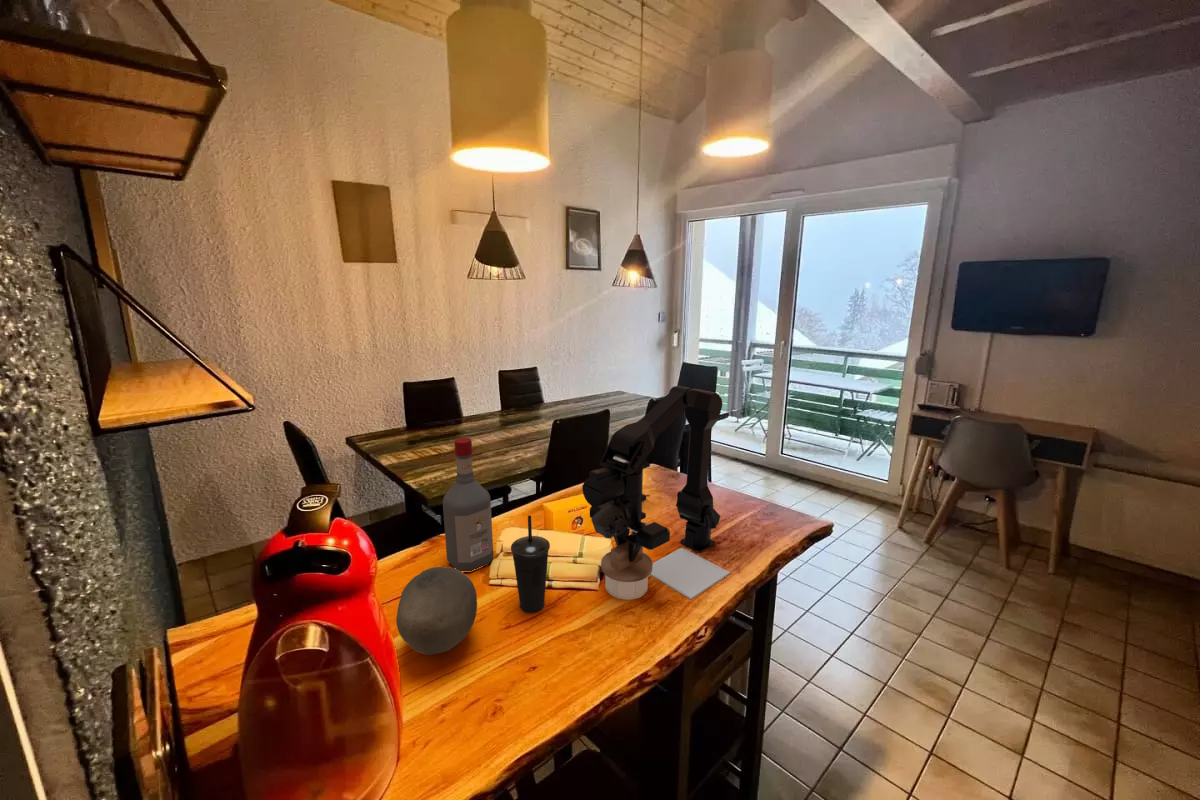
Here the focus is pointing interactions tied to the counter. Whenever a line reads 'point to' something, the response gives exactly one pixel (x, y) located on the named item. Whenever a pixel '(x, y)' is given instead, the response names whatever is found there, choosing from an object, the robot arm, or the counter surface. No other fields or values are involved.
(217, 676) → the counter surface
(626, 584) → the bowl
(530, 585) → the drinking cup
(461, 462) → the liquor
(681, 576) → the mat
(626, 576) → the lid
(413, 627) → the dark grey round stone
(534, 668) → the counter surface
